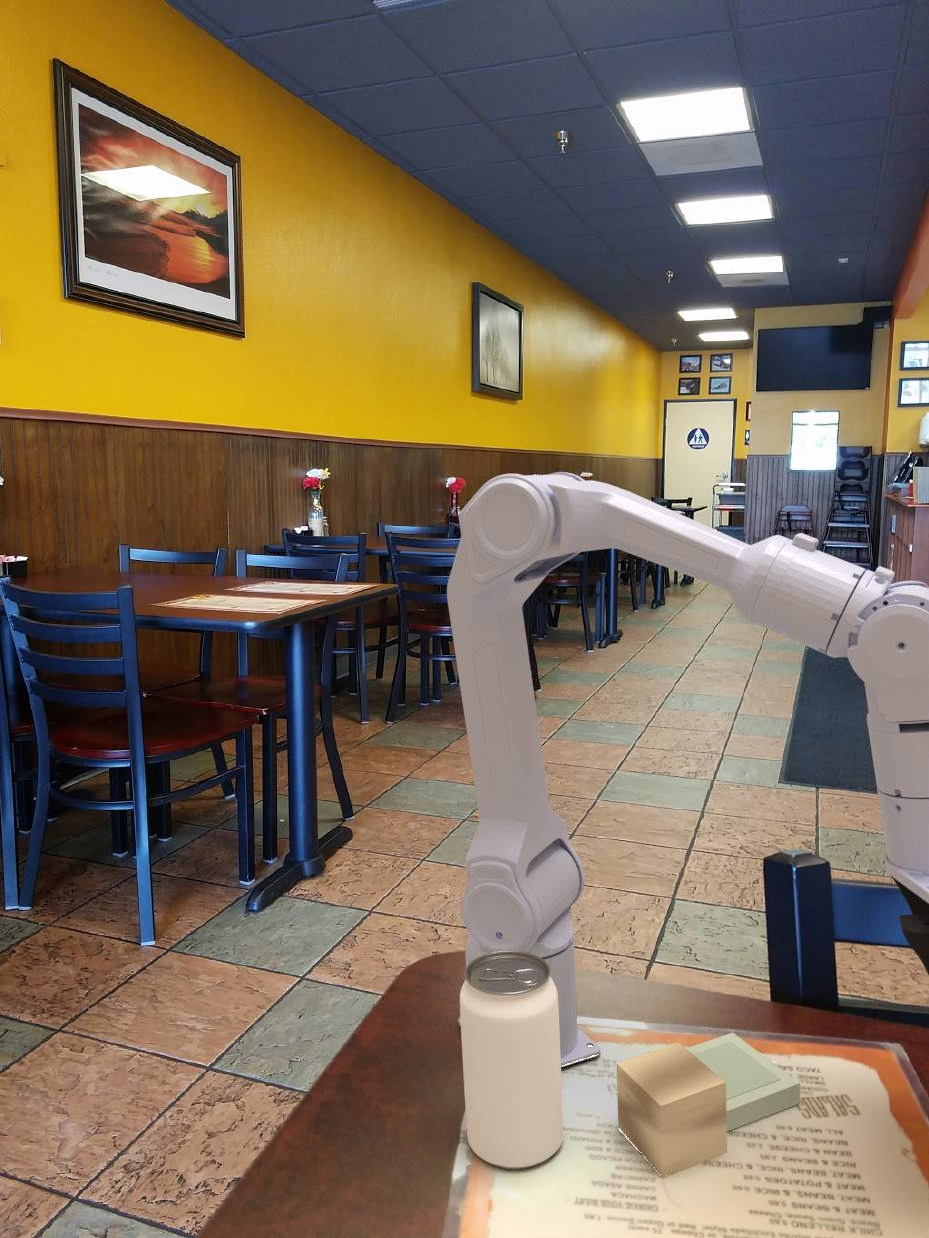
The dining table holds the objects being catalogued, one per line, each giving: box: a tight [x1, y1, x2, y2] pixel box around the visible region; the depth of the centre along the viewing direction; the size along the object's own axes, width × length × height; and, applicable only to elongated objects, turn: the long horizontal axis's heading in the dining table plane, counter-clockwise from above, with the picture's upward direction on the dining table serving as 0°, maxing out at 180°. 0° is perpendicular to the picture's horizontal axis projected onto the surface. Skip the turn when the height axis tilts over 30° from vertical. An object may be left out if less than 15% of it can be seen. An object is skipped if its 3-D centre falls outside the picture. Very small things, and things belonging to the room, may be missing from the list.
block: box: [615, 1042, 728, 1178], centre depth 62 cm, size 5×5×5 cm
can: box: [459, 950, 564, 1171], centre depth 63 cm, size 6×6×12 cm
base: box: [685, 1032, 801, 1133], centre depth 68 cm, size 7×7×2 cm
